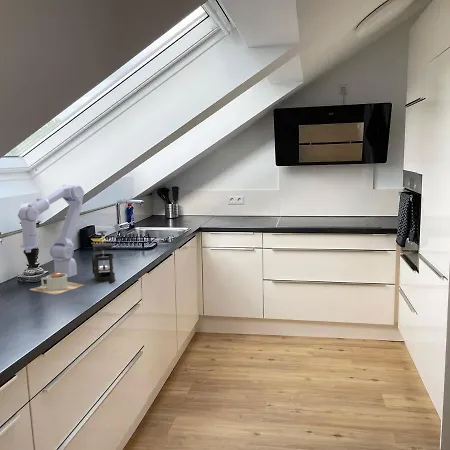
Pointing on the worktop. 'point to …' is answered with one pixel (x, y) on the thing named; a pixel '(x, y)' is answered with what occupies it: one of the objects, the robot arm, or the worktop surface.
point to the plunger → (56, 275)
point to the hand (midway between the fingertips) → (32, 265)
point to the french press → (96, 268)
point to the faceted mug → (55, 282)
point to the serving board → (54, 292)
